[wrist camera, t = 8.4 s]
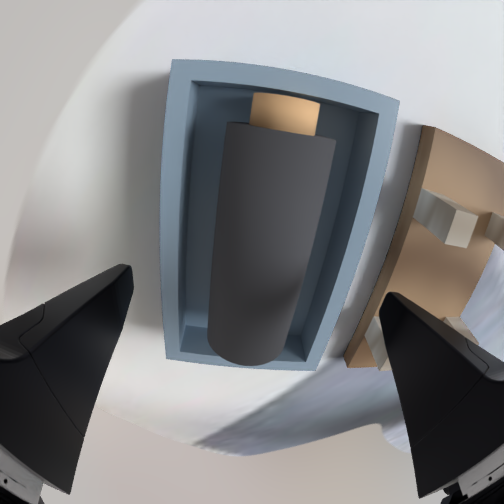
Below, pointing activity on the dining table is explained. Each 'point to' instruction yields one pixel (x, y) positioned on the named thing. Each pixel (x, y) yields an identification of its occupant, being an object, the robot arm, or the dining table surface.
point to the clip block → (437, 240)
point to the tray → (207, 187)
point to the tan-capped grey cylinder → (265, 226)
